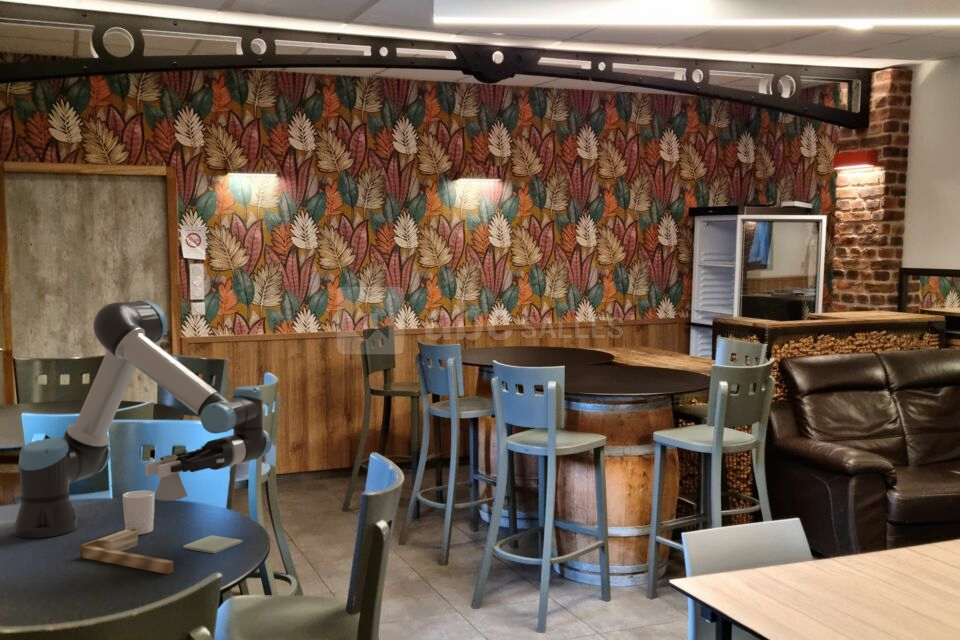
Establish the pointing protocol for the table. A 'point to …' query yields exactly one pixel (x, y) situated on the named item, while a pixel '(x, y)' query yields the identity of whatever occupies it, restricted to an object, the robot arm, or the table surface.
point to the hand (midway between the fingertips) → (152, 470)
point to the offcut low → (126, 546)
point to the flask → (170, 484)
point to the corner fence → (125, 558)
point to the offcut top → (118, 539)
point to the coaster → (212, 544)
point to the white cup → (139, 510)
